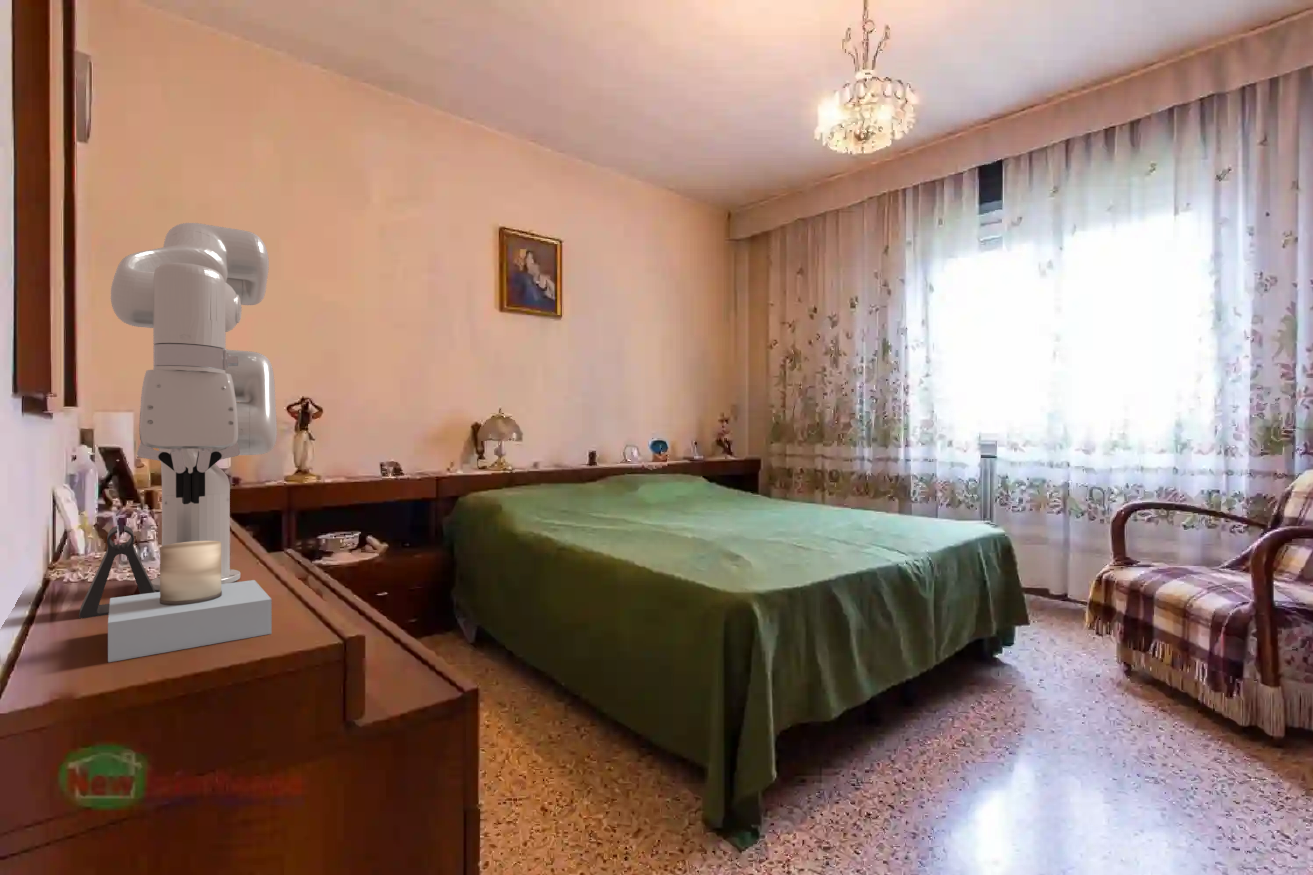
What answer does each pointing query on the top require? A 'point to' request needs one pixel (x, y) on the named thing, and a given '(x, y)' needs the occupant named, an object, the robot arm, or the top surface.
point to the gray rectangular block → (186, 621)
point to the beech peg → (190, 572)
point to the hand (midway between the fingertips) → (190, 502)
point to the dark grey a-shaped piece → (96, 589)
